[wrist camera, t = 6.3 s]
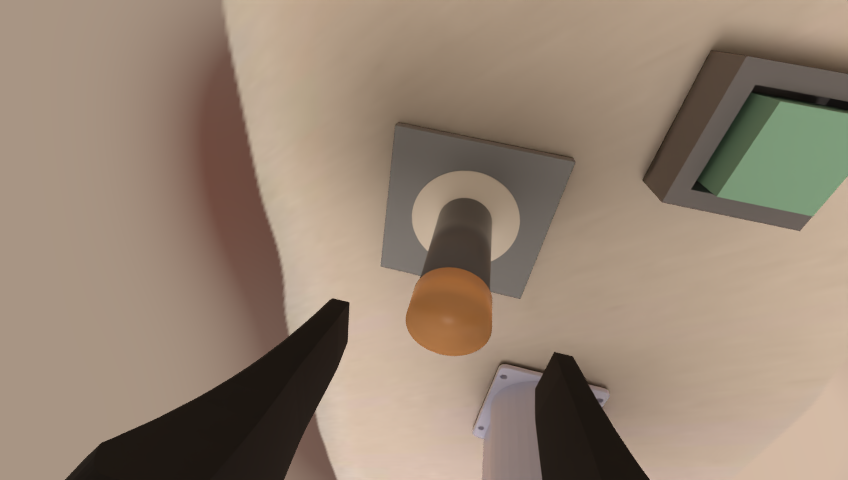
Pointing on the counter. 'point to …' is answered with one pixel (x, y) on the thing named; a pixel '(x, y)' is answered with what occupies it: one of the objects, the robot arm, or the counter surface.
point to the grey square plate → (477, 179)
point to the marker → (455, 283)
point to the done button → (780, 154)
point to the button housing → (712, 116)
